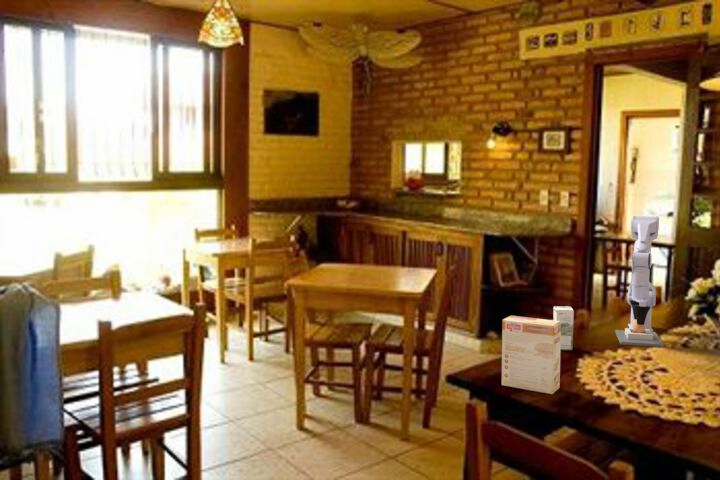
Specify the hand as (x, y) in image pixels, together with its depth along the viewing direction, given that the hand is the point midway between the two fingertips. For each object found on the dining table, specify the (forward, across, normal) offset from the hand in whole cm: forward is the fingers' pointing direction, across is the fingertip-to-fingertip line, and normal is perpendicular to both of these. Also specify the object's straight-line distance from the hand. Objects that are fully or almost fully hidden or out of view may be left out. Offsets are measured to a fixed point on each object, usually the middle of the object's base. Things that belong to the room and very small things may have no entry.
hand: (639, 322), depth 233 cm
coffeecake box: (+6, +63, -37) cm, 73 cm away
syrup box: (+6, +19, -27) cm, 34 cm away
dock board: (+6, 0, 0) cm, 6 cm away
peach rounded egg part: (+5, 0, 0) cm, 5 cm away
